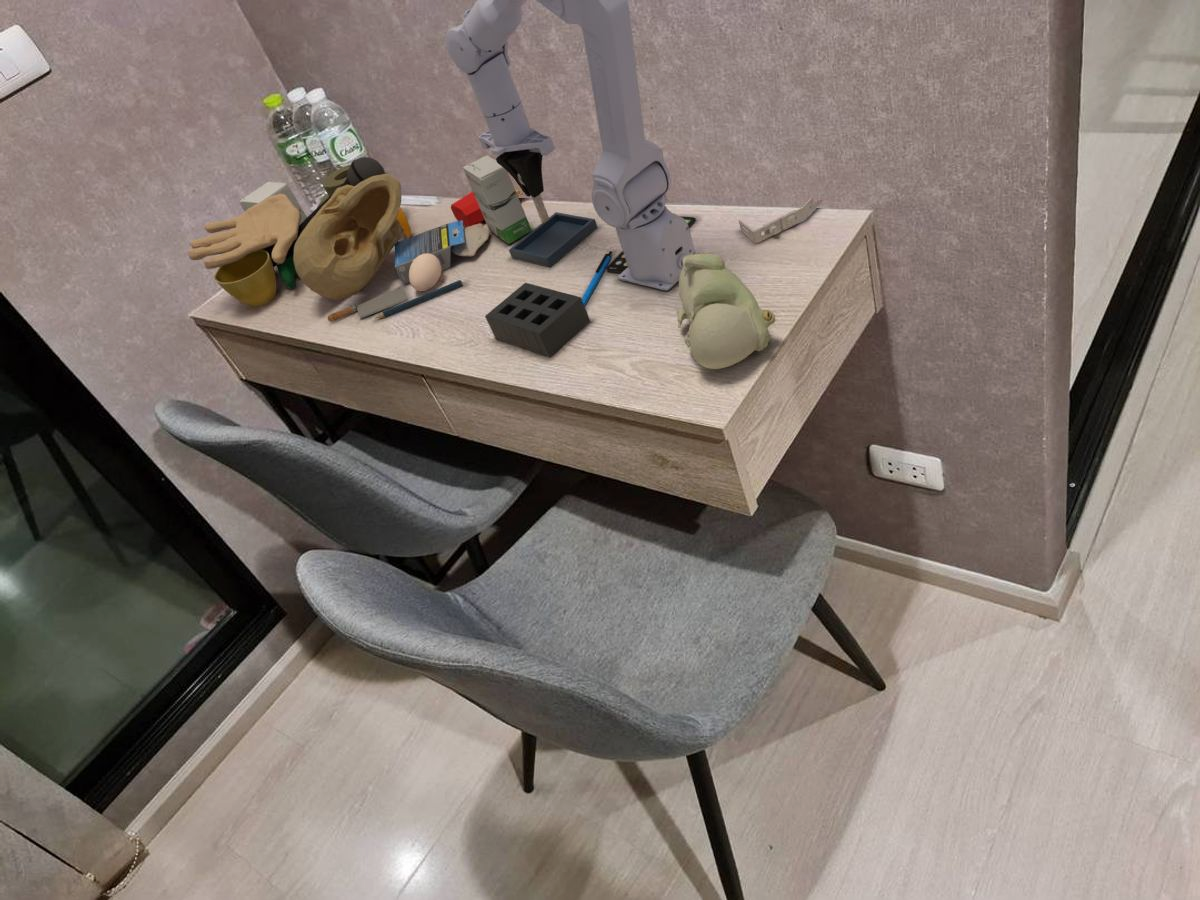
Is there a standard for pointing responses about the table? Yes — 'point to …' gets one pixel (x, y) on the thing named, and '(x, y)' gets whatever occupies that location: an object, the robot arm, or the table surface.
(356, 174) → the microphone
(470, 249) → the artifact
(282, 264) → the gaming controller
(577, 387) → the table surface
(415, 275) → the egg
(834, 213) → the table surface
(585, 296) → the pen
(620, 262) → the smartphone
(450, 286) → the pencil
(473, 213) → the french fries
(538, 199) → the spoon
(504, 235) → the ink box
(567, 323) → the rack
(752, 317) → the figurine
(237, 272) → the flower pot
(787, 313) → the table surface
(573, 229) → the tray
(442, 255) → the label tape box
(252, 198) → the white packaging box
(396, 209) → the ear model
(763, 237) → the bracket
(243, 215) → the hand model
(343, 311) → the cleaver
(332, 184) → the flange
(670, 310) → the table surface
